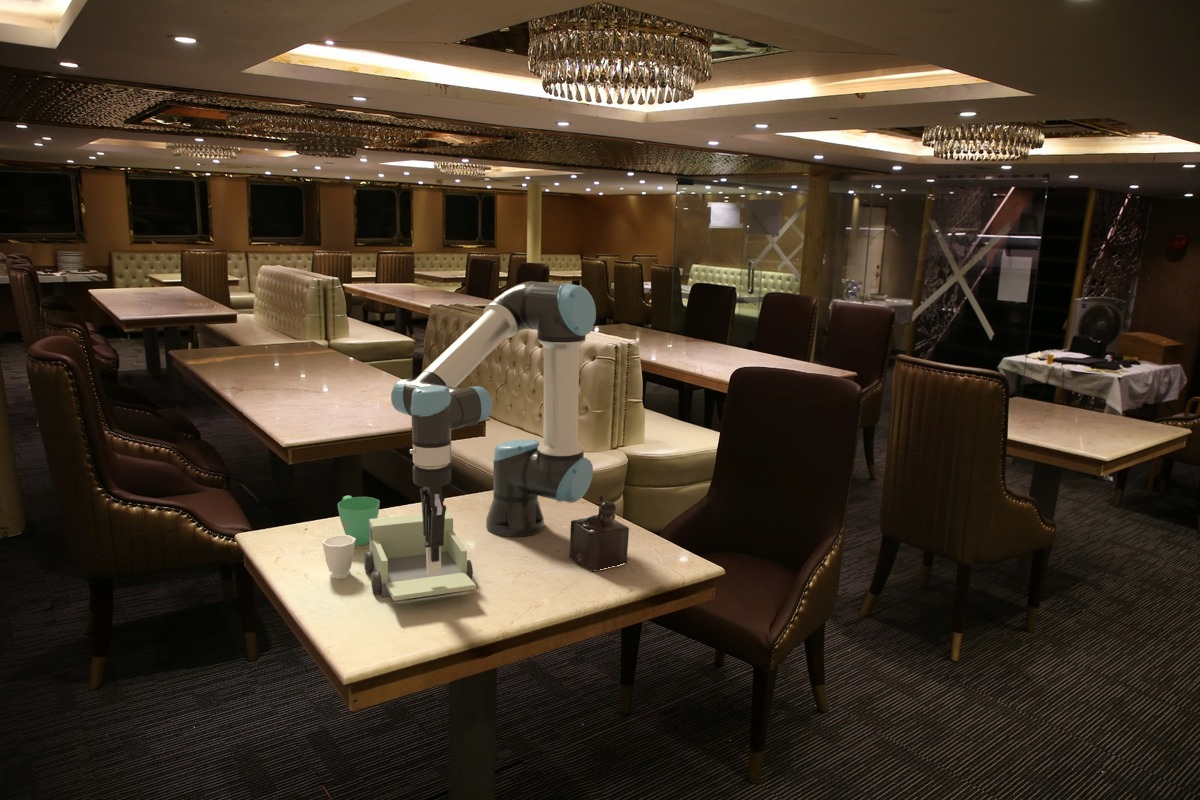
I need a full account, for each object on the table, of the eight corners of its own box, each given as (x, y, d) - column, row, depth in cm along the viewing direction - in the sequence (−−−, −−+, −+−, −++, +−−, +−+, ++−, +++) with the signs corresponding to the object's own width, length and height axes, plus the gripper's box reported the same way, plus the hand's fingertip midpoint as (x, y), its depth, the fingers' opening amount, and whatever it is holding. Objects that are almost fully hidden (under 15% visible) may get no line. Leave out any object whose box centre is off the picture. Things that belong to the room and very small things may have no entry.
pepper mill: (565, 557, 188) (568, 486, 185) (603, 549, 195) (606, 479, 191) (602, 581, 176) (605, 505, 172) (641, 572, 182) (645, 498, 179)
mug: (386, 544, 192) (386, 505, 190) (347, 552, 186) (346, 512, 184) (364, 526, 203) (363, 489, 201) (326, 533, 197) (325, 495, 195)
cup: (325, 583, 169) (324, 548, 168) (319, 565, 178) (318, 532, 176) (359, 578, 172) (358, 543, 171) (351, 561, 181) (350, 528, 179)
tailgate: (464, 572, 169) (475, 584, 161) (464, 578, 169) (475, 590, 161) (386, 582, 163) (393, 596, 154) (386, 588, 163) (393, 602, 155)
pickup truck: (454, 554, 188) (454, 510, 185) (473, 584, 172) (474, 537, 169) (363, 565, 179) (362, 519, 177) (375, 598, 163) (374, 548, 161)
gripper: (406, 456, 160) (409, 563, 165) (419, 475, 148) (422, 590, 154) (443, 453, 163) (444, 558, 168) (458, 471, 151) (459, 584, 157)
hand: (433, 573), depth 161 cm, fingers closed
